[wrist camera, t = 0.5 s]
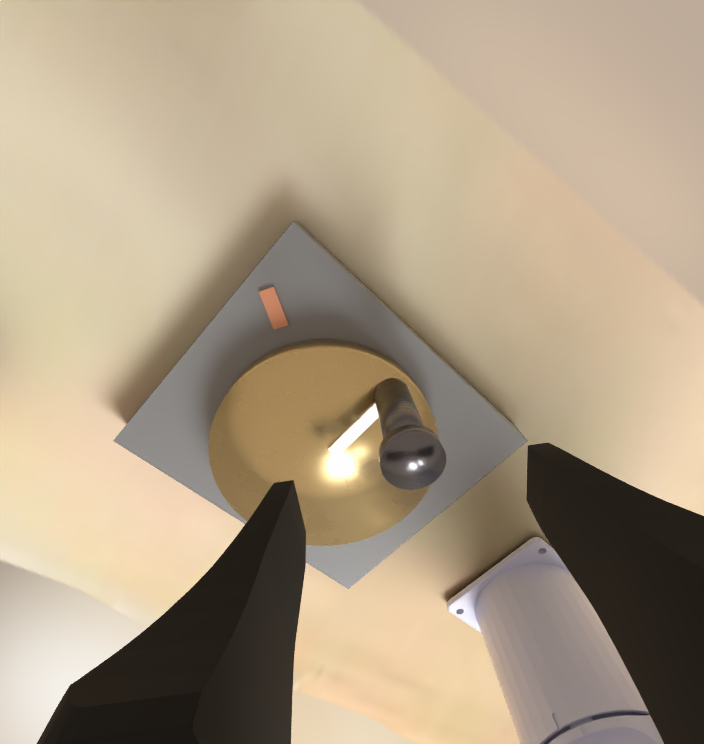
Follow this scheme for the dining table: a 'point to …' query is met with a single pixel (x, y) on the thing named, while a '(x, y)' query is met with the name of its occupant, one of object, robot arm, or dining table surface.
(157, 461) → the stand
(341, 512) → the brass disc with crank
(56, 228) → the dining table surface
